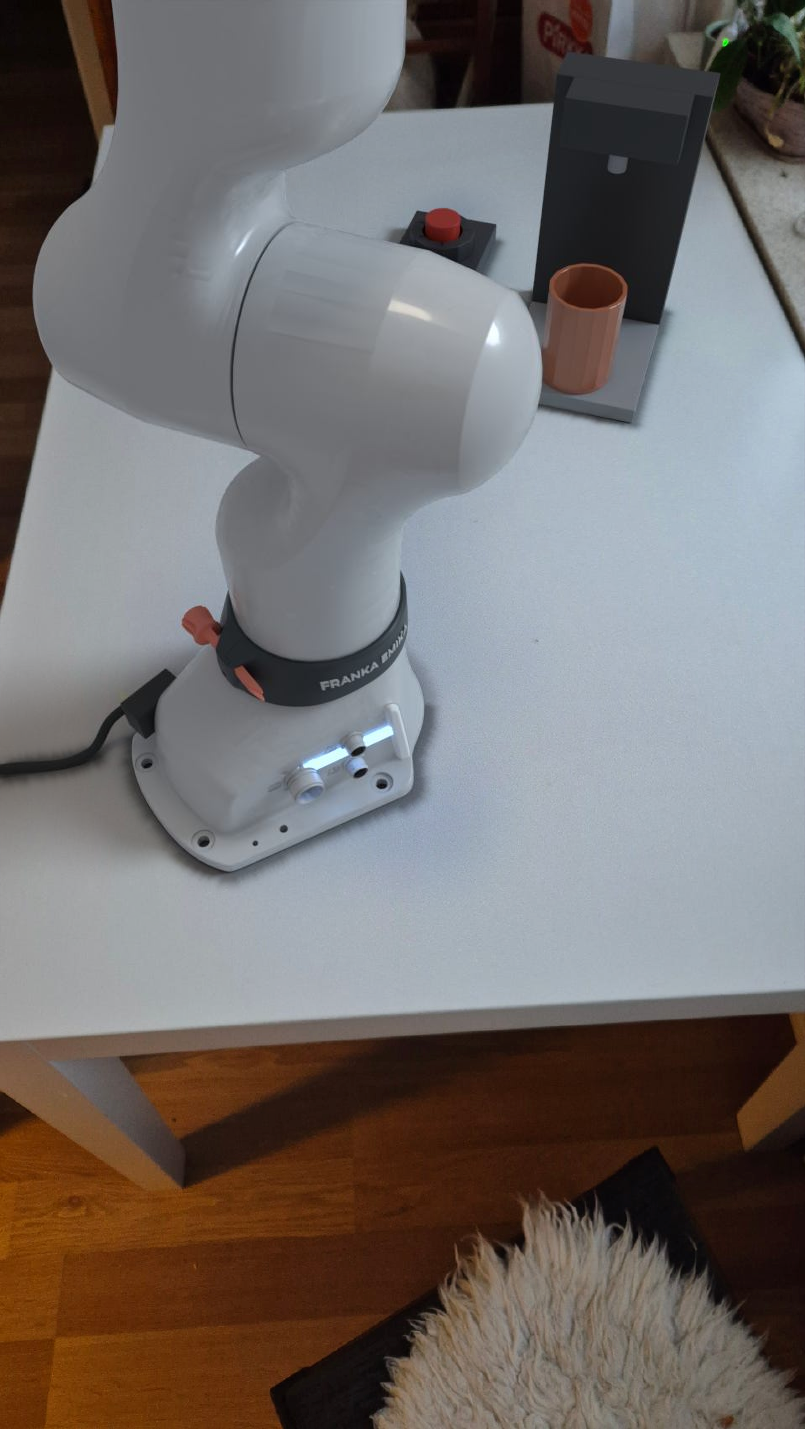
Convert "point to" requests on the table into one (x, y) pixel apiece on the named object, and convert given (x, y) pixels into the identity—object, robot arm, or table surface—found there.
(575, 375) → the cup
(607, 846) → the table surface
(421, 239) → the control block
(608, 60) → the coffee maker
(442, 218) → the button
